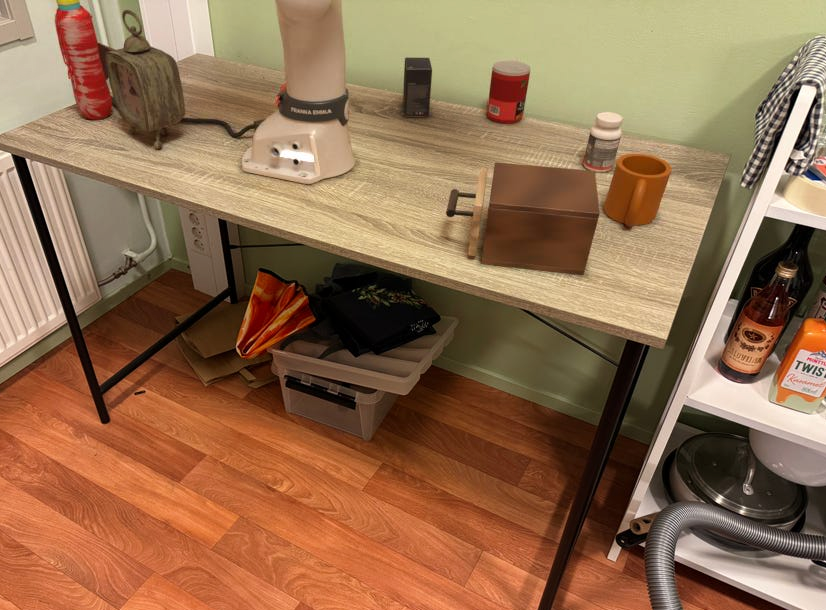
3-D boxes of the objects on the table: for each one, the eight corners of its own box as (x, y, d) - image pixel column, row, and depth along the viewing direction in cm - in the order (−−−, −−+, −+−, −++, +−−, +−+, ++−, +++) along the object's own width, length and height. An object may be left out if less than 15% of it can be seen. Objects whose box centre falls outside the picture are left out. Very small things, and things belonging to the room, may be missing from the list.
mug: (591, 225, 117) (603, 176, 111) (611, 196, 124) (623, 149, 118) (644, 239, 113) (660, 189, 107) (661, 208, 121) (677, 160, 115)
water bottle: (111, 101, 161) (83, -17, 144) (134, 108, 157) (108, -12, 140) (69, 118, 153) (34, -5, 137) (92, 126, 150) (59, 1, 133)
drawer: (441, 252, 109) (445, 202, 103) (449, 213, 118) (454, 165, 112) (562, 265, 106) (574, 214, 100) (561, 224, 115) (571, 176, 109)
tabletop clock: (121, 133, 147) (91, 7, 130) (158, 121, 151) (133, -2, 135) (156, 154, 139) (128, 23, 122) (193, 142, 143) (172, 13, 127)
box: (429, 117, 152) (432, 68, 145) (403, 117, 152) (406, 68, 145) (426, 104, 158) (429, 56, 151) (402, 104, 158) (404, 56, 151)
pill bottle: (584, 158, 136) (595, 109, 129) (613, 162, 134) (626, 112, 128) (581, 170, 132) (592, 120, 125) (611, 174, 130) (625, 124, 124)
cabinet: (481, 264, 108) (489, 202, 101) (486, 220, 118) (494, 162, 111) (583, 275, 105) (599, 213, 98) (580, 229, 115) (595, 170, 108)
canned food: (522, 125, 148) (530, 73, 141) (485, 122, 149) (491, 71, 142) (522, 111, 154) (531, 61, 146) (487, 109, 155) (493, 59, 148)
